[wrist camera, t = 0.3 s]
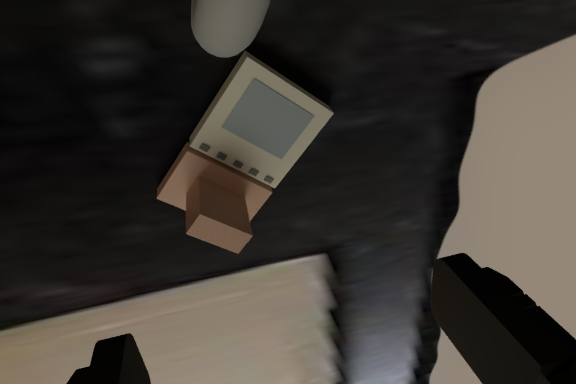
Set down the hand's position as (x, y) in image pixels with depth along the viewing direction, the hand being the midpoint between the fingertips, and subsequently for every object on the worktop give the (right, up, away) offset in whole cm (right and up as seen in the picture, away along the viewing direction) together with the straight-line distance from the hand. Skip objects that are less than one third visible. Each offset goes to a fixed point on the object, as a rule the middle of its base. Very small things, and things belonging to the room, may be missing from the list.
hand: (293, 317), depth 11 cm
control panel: (-2, +9, +22) cm, 24 cm away
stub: (-6, +4, +24) cm, 25 cm away
